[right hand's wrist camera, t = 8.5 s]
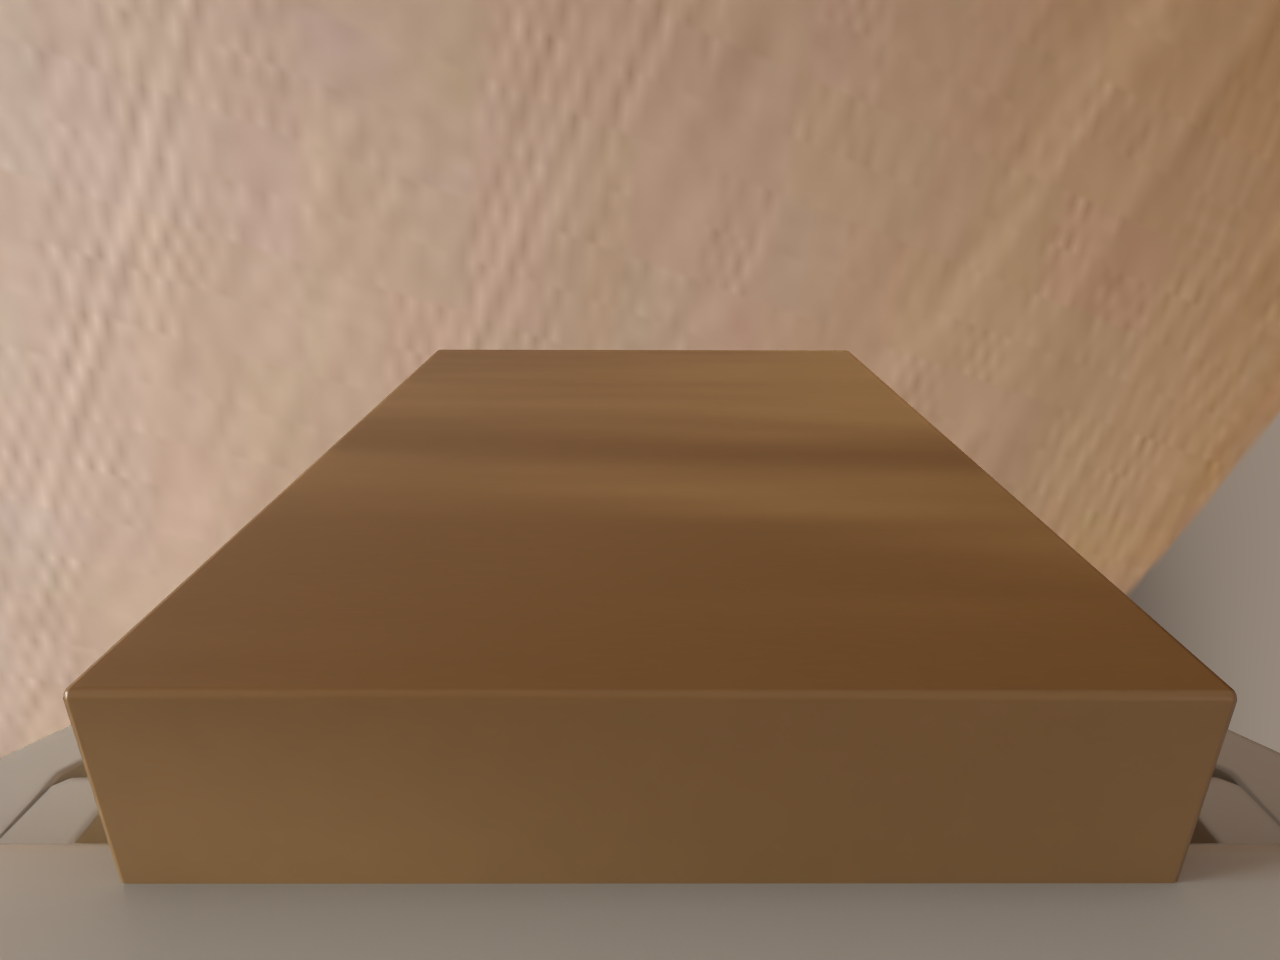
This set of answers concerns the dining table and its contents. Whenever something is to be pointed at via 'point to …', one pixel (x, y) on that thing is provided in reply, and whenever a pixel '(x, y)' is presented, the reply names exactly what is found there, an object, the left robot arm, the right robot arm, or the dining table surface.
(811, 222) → the dining table surface
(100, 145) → the dining table surface
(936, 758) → the box
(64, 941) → the right robot arm
